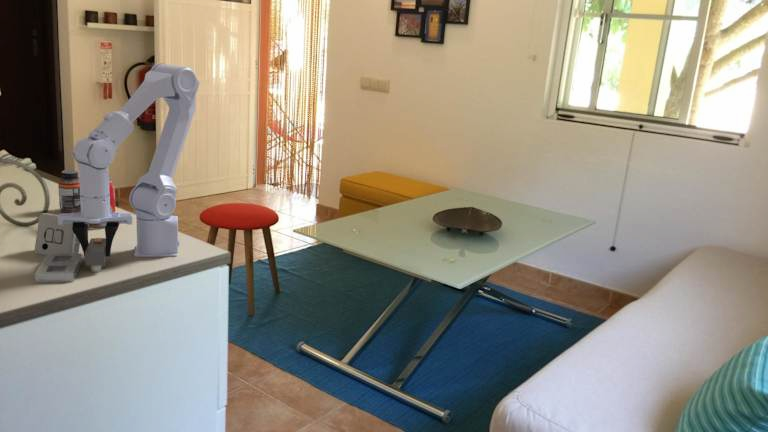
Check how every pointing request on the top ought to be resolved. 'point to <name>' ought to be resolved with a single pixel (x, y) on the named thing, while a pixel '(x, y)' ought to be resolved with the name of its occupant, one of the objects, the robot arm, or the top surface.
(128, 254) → the top surface
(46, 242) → the electrical switch
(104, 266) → the oak block
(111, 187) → the soda can
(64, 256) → the grey slotted base plate
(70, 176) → the supplement bottle
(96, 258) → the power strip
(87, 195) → the robot arm
